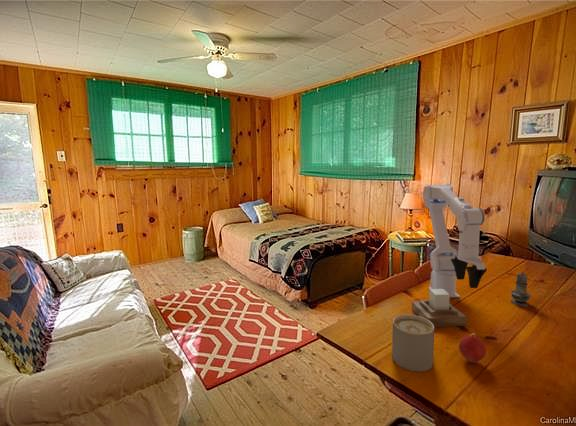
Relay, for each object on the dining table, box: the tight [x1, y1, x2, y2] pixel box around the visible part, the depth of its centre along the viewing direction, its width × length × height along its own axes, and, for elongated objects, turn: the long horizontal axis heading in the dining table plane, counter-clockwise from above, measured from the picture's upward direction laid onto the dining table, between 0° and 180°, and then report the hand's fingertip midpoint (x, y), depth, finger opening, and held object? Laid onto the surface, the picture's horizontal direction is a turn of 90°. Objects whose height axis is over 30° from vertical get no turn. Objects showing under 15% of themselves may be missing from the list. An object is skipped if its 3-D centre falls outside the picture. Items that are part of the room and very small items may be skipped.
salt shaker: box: [510, 271, 532, 307], centre depth 106 cm, size 6×6×12 cm
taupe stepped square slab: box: [411, 299, 467, 328], centre depth 99 cm, size 12×12×4 cm
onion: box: [458, 333, 487, 364], centre depth 76 cm, size 6×6×8 cm
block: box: [428, 289, 451, 310], centre depth 98 cm, size 4×4×6 cm
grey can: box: [391, 313, 435, 372], centre depth 78 cm, size 13×10×10 cm
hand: (466, 283), depth 100 cm, fingers open, 7 cm apart
